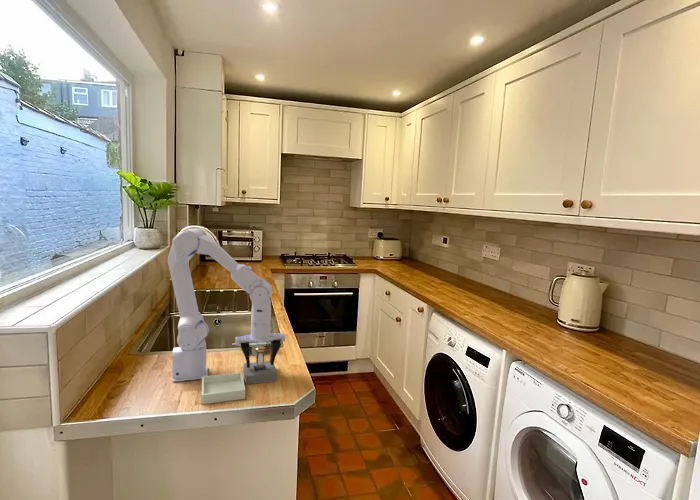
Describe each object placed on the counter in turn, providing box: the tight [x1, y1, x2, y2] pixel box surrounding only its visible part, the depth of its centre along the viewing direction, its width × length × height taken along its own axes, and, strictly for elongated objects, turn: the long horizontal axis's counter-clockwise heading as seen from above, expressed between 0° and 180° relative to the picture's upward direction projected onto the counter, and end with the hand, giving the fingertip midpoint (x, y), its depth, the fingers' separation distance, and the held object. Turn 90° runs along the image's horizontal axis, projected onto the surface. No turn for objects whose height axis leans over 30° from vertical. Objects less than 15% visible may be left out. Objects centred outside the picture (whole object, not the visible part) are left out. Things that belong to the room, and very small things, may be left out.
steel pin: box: [254, 346, 267, 371], centre depth 114 cm, size 3×3×9 cm
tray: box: [200, 371, 246, 405], centre depth 104 cm, size 11×11×2 cm
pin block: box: [242, 360, 278, 385], centre depth 114 cm, size 9×9×2 cm
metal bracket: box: [231, 342, 271, 356], centre depth 136 cm, size 14×6×15 cm
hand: (260, 365), depth 114 cm, fingers open, 6 cm apart
